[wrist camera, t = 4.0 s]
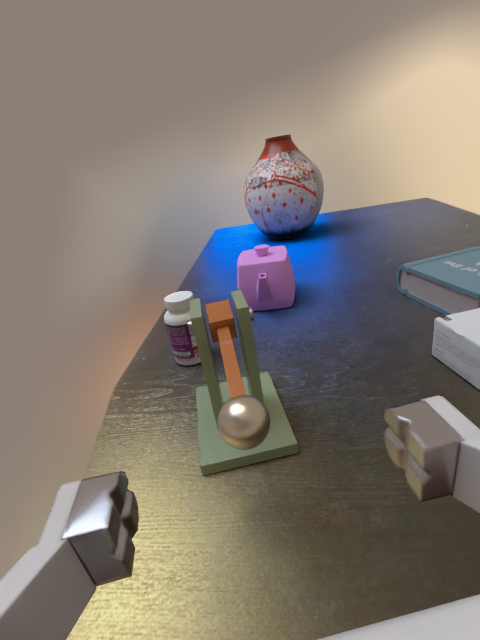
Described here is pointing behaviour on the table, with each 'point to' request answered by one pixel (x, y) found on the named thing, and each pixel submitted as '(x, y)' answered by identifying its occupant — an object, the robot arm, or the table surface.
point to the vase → (283, 190)
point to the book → (443, 281)
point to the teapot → (266, 278)
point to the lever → (236, 387)
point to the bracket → (215, 394)
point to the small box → (459, 343)
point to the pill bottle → (180, 328)
